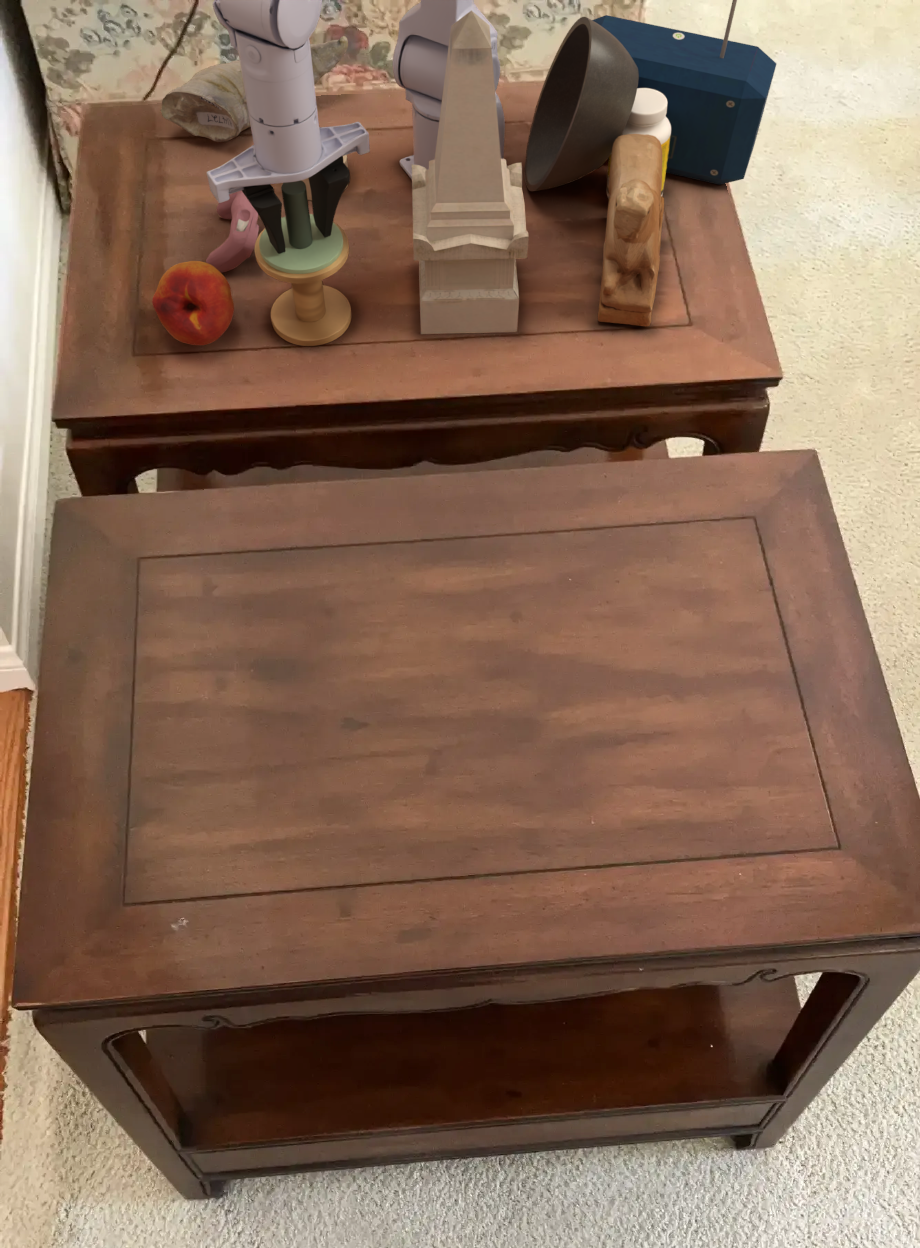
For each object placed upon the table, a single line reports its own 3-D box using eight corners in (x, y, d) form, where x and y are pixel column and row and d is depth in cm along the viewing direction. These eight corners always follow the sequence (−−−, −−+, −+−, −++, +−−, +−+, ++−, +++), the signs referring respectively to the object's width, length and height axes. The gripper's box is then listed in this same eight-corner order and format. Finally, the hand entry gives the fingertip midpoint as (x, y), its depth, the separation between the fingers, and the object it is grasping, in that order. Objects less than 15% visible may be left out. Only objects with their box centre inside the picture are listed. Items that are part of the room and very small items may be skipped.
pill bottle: (673, 200, 124) (687, 106, 115) (626, 219, 123) (636, 125, 114) (641, 170, 127) (652, 76, 118) (594, 188, 126) (602, 94, 117)
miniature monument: (515, 262, 120) (532, -28, 94) (521, 335, 114) (541, 47, 88) (415, 264, 119) (404, -26, 94) (416, 337, 114) (406, 49, 88)
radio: (753, 147, 130) (803, -33, 113) (739, 194, 125) (788, 15, 108) (575, 107, 133) (597, -73, 116) (555, 152, 128) (574, -29, 111)
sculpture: (590, 325, 115) (607, 200, 102) (603, 213, 123) (620, 85, 110) (654, 331, 114) (679, 206, 101) (661, 219, 123) (685, 91, 110)
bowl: (655, 104, 106) (592, 94, 105) (578, 227, 127) (524, 220, 126) (653, -10, 108) (590, -22, 107) (577, 129, 130) (524, 121, 128)
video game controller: (244, 288, 119) (266, 240, 114) (202, 272, 118) (222, 222, 112) (255, 225, 125) (277, 176, 119) (214, 208, 123) (234, 158, 118)
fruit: (147, 350, 113) (127, 287, 106) (183, 295, 117) (166, 231, 110) (220, 369, 111) (204, 307, 105) (254, 314, 115) (242, 250, 109)
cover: (321, 207, 110) (315, 148, 105) (357, 257, 107) (352, 198, 101) (246, 233, 108) (235, 174, 103) (280, 284, 105) (270, 226, 99)
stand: (332, 276, 118) (324, 203, 111) (370, 330, 114) (364, 258, 107) (253, 304, 116) (239, 232, 108) (289, 360, 112) (277, 289, 104)
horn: (244, 123, 120) (173, 49, 118) (217, 187, 130) (151, 119, 128) (354, 41, 128) (289, -29, 127) (321, 107, 139) (260, 43, 137)
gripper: (339, 55, 99) (351, 189, 110) (182, 105, 95) (211, 237, 107) (376, 99, 96) (384, 232, 107) (215, 152, 92) (241, 284, 104)
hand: (300, 238), depth 107 cm, fingers open, 4 cm apart
